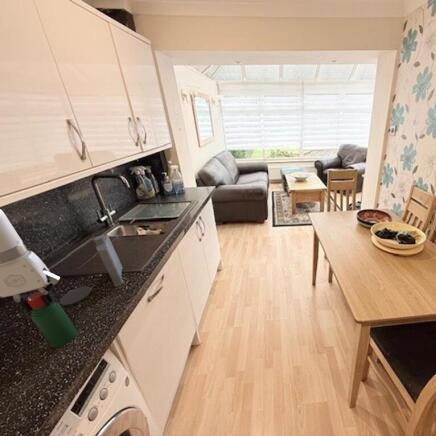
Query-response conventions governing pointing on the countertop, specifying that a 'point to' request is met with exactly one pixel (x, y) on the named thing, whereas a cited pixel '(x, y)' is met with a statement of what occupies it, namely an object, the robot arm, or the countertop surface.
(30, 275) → the robot arm
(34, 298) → the cap
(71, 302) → the coaster
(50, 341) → the bottle
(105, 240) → the grey flat block
